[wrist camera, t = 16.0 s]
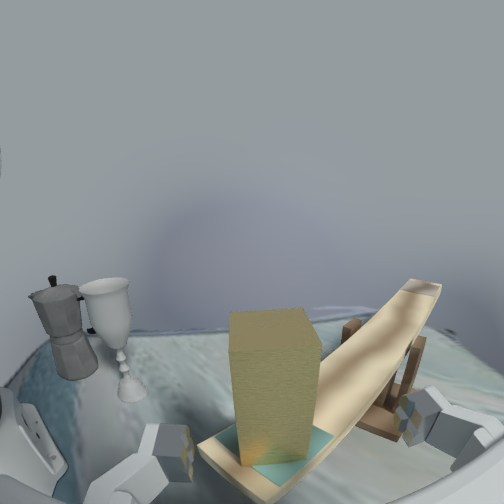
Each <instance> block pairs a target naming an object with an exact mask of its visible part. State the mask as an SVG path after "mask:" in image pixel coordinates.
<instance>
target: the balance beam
mask: <svg viewBox="0 0 504 504" xmlns="http://www.w3.org/2000/svg"><path fill="white" fill-rule="evenodd" d="M441 287H442V285H441V284H436V283H430V282H425V281H420V280H415V279H410V280H409V281H408V282H407V283H406V284H405V285H404V286H403V287H402V288H401V289H400V290H399V291H398V292H397V294H395V295H394V296H393V297H392V298H391V299H390V300H389V301H388V302H387V303H386V304H385V305H384V306H383V307H382V308H381V309H380V310H379V311H378V312H377V313H376V314H375V315H374V316H373V317H372V318H371V319H370V320H369V321H368V322H367V323H366V324H364V325H363V326H362V327H361V328H360V329H359V330H358V331H357V332H356V333H355V334H353V335H352V336H351V337H350V338H349V339H348V340H347V341H346V342H344V343H343V344H342V345H341V346H340V347H339V348H337V349H336V350H335V351H334V352H333V353H331V354H330V355H329V356H328V357H327V358H325V359H324V360H323V361H322V362H321V363H320V372H319V381H318V389H317V397H316V405H315V412H314V419H313V426H312V432H311V438H310V444H309V450H308V455H307V460H305V461H298V462H290V463H282V464H272V465H260V466H241V458H240V450H239V443H238V435H237V426H236V423H234V424H232V425H231V426H229V427H228V428H226V429H224V430H222V431H221V432H219V433H217V434H216V435H214V436H212V437H210V438H209V439H207V440H205V441H203V442H201V443H200V444H198V445H197V447H198V450H199V453H200V456H201V457H202V458H203V459H204V460H205V461H206V462H207V463H208V464H209V465H210V466H211V467H212V468H214V469H215V470H216V471H217V472H218V473H219V474H220V475H221V476H223V477H224V478H225V479H226V480H227V481H228V482H230V483H231V484H232V485H233V486H234V487H236V488H237V489H238V490H239V491H241V492H242V493H243V494H244V495H246V496H247V497H248V498H250V499H251V500H252V501H253V502H255V503H256V504H274V503H275V502H277V501H278V500H279V499H280V498H282V497H283V496H284V495H285V494H286V493H288V492H289V491H290V490H291V489H292V488H293V487H295V486H296V485H297V484H298V483H299V482H300V481H301V480H302V479H304V478H305V477H306V476H307V475H308V474H309V473H310V472H311V471H312V470H313V469H314V468H315V467H316V466H317V465H318V464H319V463H320V462H321V461H322V460H323V459H324V458H325V457H326V456H327V455H328V454H329V453H330V452H331V451H332V450H333V449H334V448H335V447H336V446H337V445H338V444H339V443H340V442H341V440H342V439H343V438H344V437H345V436H346V435H347V434H348V433H349V431H350V430H351V429H352V428H353V427H354V426H355V424H356V423H357V422H358V421H359V420H360V418H361V417H362V416H363V415H364V414H365V412H366V411H367V410H368V409H369V407H370V406H371V405H372V403H373V402H374V401H375V399H376V398H377V397H378V395H379V394H380V393H381V391H382V390H383V389H384V387H385V386H386V384H387V383H388V382H389V380H390V379H391V377H392V376H393V374H394V373H395V371H396V370H397V368H398V367H399V365H400V364H401V362H402V361H403V359H404V358H405V356H406V355H407V353H408V351H409V350H410V348H411V346H412V345H413V343H414V341H415V340H416V338H417V336H418V335H419V333H420V331H421V329H422V327H423V326H424V324H425V322H426V320H427V318H428V316H429V314H430V313H431V311H432V309H433V307H434V305H435V303H436V301H437V299H438V297H439V295H440V293H441Z"/></svg>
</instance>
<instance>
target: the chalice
mask: <svg viewBox="0 0 504 504" xmlns="http://www.w3.org/2000/svg"><path fill="white" fill-rule="evenodd" d="M129 283H130V281H129V280H128V279H125V278H105V279H100V280H96V281H92V282H89V283H87V284H84V285H83V286H81V287H80V288H79V292H80V293H81V295H82V296H83V297H84V299H85V303H86V307H87V312H88V316H89V320H90V323H91V325H92V327H93V329H94V330H95V332H96V333H97V335H98V336H99V337H100V338H101V339H102V340H103V341H104V343H105V344H106V345H107V346H108V347H109V348H111V349H115V350H116V352H117V357H116V360H117V361H119V363H120V367H119V370H120V371H121V372H122V373H123V375H124V378H122V379H121V381H120V382H119V385H118V386H119V387H118V397H119V399H121V400H122V401H124V402H136V401H139V400H141V399H143V398H144V397H145V396H146V395H147V388H146V386H144V385H143V383H142V382H140V380H139V379H138V378H136V377H134V376H130V374H129V369H130V366H128V365H127V364H126V358H127V357H126V356H125V355H124V353H123V351H122V347H124V346H125V345H126V344H127V340H128V336H129V332H130V328H131V320H132V312H131V308H130V302H129V297H128V292H127V289H128V285H129Z"/></svg>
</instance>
